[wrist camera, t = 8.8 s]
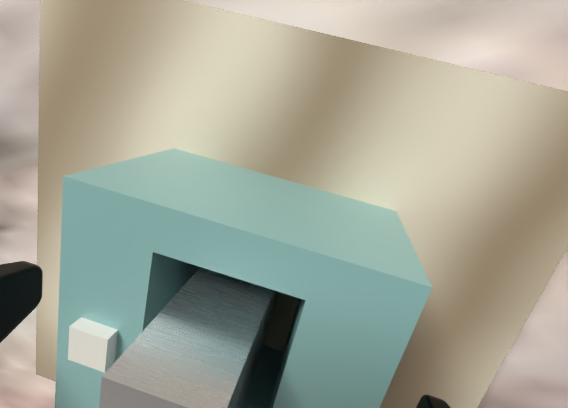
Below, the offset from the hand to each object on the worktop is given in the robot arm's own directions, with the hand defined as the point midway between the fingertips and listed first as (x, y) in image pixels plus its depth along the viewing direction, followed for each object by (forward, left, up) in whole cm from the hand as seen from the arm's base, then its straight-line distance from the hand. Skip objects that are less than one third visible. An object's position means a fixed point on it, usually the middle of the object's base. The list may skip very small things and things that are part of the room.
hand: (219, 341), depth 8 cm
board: (0, 0, -4) cm, 4 cm away
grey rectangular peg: (0, 0, -3) cm, 3 cm away
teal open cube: (0, 0, -3) cm, 3 cm away
